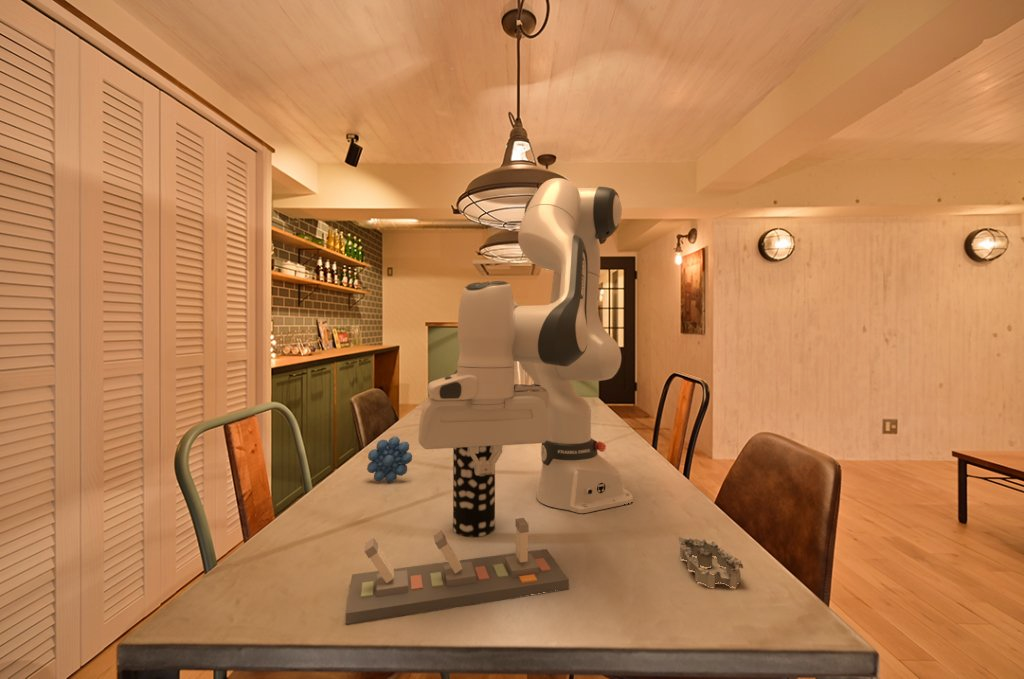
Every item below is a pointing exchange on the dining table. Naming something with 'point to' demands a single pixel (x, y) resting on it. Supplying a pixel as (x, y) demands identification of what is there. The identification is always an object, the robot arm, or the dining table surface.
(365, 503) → the dining table surface
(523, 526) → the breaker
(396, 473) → the blue lobed flower shape
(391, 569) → the breaker far
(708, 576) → the egg carton
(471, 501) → the white-spotted black cylinder
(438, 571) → the breaker panel
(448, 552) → the breaker mid
